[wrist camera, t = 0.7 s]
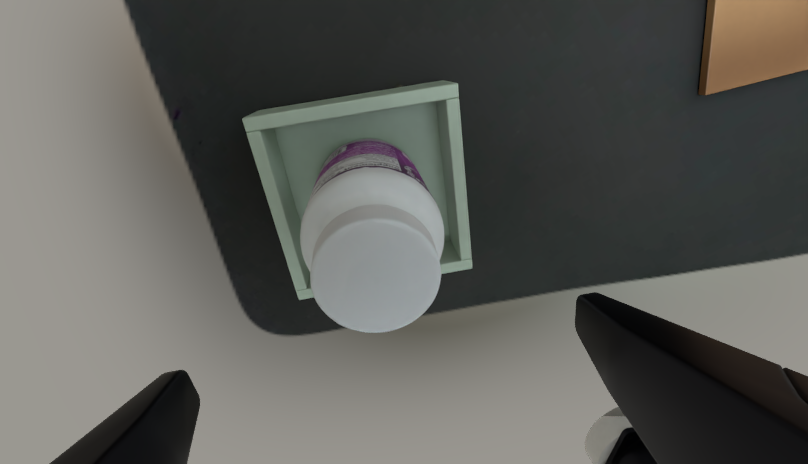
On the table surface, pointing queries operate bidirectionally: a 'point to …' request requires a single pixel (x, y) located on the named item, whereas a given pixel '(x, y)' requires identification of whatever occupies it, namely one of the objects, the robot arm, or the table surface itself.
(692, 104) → the table surface
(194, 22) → the table surface
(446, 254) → the tray
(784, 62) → the wooden board
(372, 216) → the pill bottle
